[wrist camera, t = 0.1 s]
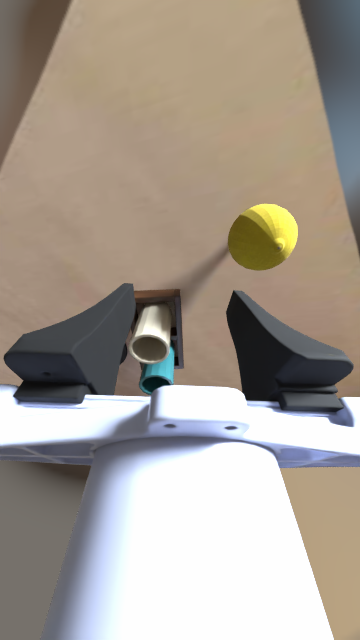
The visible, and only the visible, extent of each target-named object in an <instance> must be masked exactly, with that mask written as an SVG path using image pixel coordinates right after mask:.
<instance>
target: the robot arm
mask: <svg viewBox="0 0 360 640" xmlns="http://www.w3.org/2000/svg"><path fill="white" fill-rule="evenodd" d="M135 309H136V303H135V296H134V288H133V284H128V283H124V284H122V285H121V286H120V287H119V288H117V289H116V290H115V291H114V292H112V293H111V294H110V295H109V296H107V297H106V298H104V299H103V300H102V301H100V302H99V303H97V304H96V305H94V306H93V307H91V308H89V309H88V310H86V311H84V312H82V313H80V314H78V315H76V316H74V317H72V318H69V319H67V320H65V321H62V322H60V323H57V324H55V325H52V326H49V327H46V328H43V329H40V330H37V331H33V332H30V333H26V334H23V335H22V336H21V337H20V338H19V340H18V341H17V342H16V343H15V344H14V345H13V346H12V347H11V348H10V349H9V351H8V352H7V353H6V354H5V355H4V361H5V364H6V365H7V366H8V367H9V368H10V369H11V370H12V371H13V372H14V373H16V374H17V375H18V376H19V377H20V378H21V379H22V380H24V381H23V382H22V384H21V385H20V386H19V387H18V386H16V385H11V384H0V460H11V461H31V462H48V463H63V464H78V465H79V464H80V465H92V466H91V469H90V473H89V476H88V479H87V483H86V486H85V489H84V493H83V496H82V500H81V503H80V506H79V510H78V513H77V516H76V520H75V523H74V527H73V530H72V534H71V537H70V540H69V544H68V547H67V550H66V554H65V557H64V560H63V564H62V567H61V571H60V574H59V577H58V581H57V585H56V588H55V591H54V594H53V598H52V601H51V604H50V608H49V611H48V614H47V618H46V622H45V625H44V628H43V631H42V635H41V638H40V640H334V639H333V636H332V633H331V630H330V627H329V624H328V620H327V617H326V614H325V611H324V608H323V605H322V602H321V598H320V595H319V592H318V589H317V586H316V583H315V580H314V576H313V573H312V570H311V567H310V564H309V561H308V558H307V554H306V552H305V549H304V545H303V542H302V539H301V536H300V532H299V529H298V526H297V523H296V520H295V517H294V514H293V511H292V508H291V504H290V501H289V498H288V495H287V492H286V489H285V486H284V482H283V479H282V476H281V473H280V470H279V468H298V467H299V468H301V467H360V398H352V397H343V398H339V399H338V398H337V396H336V395H335V393H337V392H338V390H337V388H336V387H335V385H334V384H336V383H337V382H339V381H340V380H342V379H343V378H344V377H346V376H347V375H348V374H350V373H351V371H352V370H353V363H352V362H351V361H350V360H349V358H348V357H347V356H346V355H345V353H344V352H343V351H342V350H339V349H337V348H334V347H331V346H329V345H326V344H324V343H321V342H319V341H317V340H314V339H312V338H310V337H308V336H306V335H304V334H302V333H300V332H298V331H296V330H294V329H292V328H290V327H289V326H287V325H285V324H284V323H282V322H281V321H279V320H278V319H276V318H275V317H273V316H272V315H271V314H269V313H268V312H267V311H265V310H264V309H263V308H262V307H260V306H259V305H258V304H257V303H256V302H254V301H253V300H252V299H251V298H250V297H249V296H248V295H246V294H245V293H244V292H243V291H235V290H233V293H232V296H231V299H230V302H229V305H228V308H227V311H226V315H227V322H228V326H229V329H230V333H231V336H232V339H233V342H234V346H235V349H236V353H237V358H238V364H239V370H240V376H241V384H242V393H241V392H240V391H238V390H237V389H233V388H227V387H206V386H181V385H171V386H162V387H160V388H158V389H155V390H154V391H153V392H152V394H151V396H150V397H132V396H114V391H115V385H116V380H117V375H118V370H119V365H120V360H121V356H122V351H123V347H124V344H125V341H126V338H127V335H128V333H129V330H130V327H131V324H132V321H133V319H134V314H135Z"/></svg>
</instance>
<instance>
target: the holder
mask: <svg viewBox="0 0 360 640" xmlns="http://www.w3.org/2000/svg"><path fill="white" fill-rule="evenodd" d="M134 296H135V303H151V302H174V303H175V317H176V327H172V328H171V339H170V340H177V346H178V356H176V357H174V369H183V368H184V360H183V339H182V317H181V296H180V289H175V290H174V289H171V290H148V291H134ZM138 318H139V316H138V312H137V307H136V309H135V314H134V319H133V321H132V324H131V330H132V334H133V332H134V329H135V326H136V323H137V321H138ZM140 366H141V370H142V368H143V363H142V362H140Z"/></svg>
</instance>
